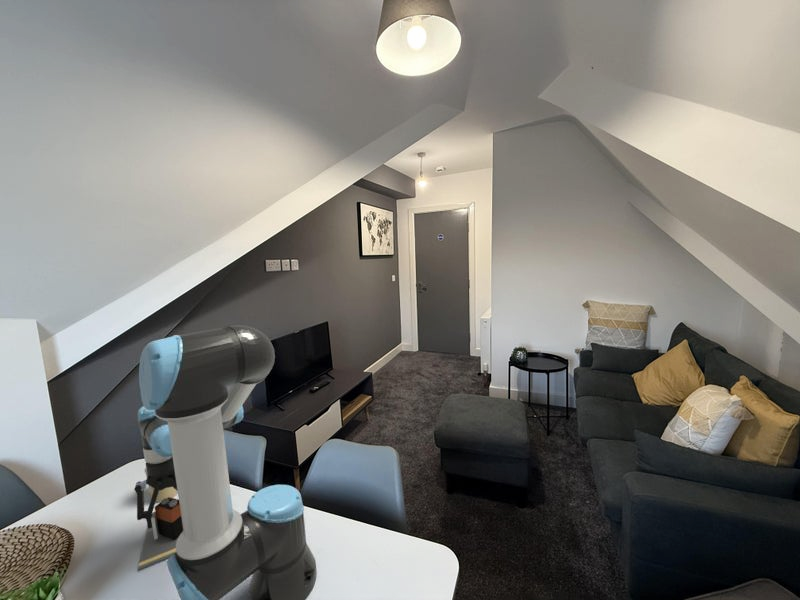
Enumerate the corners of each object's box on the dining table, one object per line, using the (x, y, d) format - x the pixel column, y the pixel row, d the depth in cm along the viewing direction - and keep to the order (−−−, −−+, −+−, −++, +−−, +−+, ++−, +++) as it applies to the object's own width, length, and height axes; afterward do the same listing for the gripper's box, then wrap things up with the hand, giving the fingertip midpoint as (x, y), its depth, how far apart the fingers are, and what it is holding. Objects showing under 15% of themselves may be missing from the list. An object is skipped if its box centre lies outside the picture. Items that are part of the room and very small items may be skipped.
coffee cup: (189, 486, 115) (184, 454, 113) (166, 505, 106) (160, 472, 104) (167, 484, 117) (162, 453, 115) (142, 503, 108) (136, 470, 106)
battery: (174, 541, 91) (169, 509, 90) (158, 535, 93) (153, 503, 92) (189, 528, 95) (184, 498, 94) (173, 523, 97) (168, 493, 96)
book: (201, 545, 90) (200, 543, 90) (137, 571, 83) (137, 569, 83) (202, 504, 105) (202, 502, 105) (149, 523, 99) (149, 522, 98)
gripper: (203, 438, 99) (212, 506, 102) (119, 462, 89) (132, 536, 92) (202, 450, 93) (212, 522, 96) (112, 477, 83) (126, 556, 86)
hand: (173, 529), depth 94 cm, fingers closed on battery, 7 cm apart
